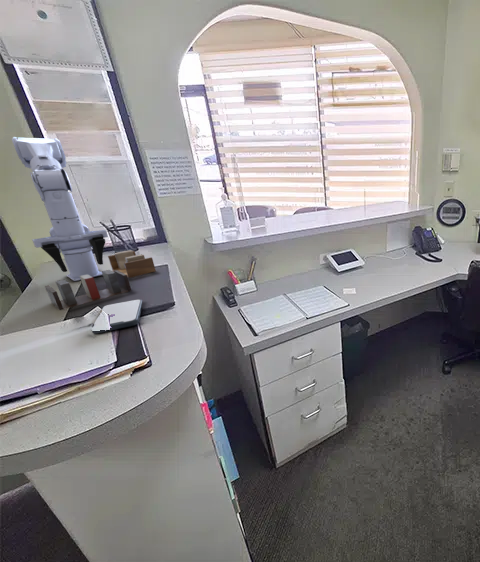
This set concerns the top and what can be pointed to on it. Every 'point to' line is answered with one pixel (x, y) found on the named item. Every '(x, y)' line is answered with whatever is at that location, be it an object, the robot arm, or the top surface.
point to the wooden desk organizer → (131, 263)
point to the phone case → (123, 314)
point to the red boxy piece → (90, 286)
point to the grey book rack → (115, 285)
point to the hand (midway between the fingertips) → (83, 267)
